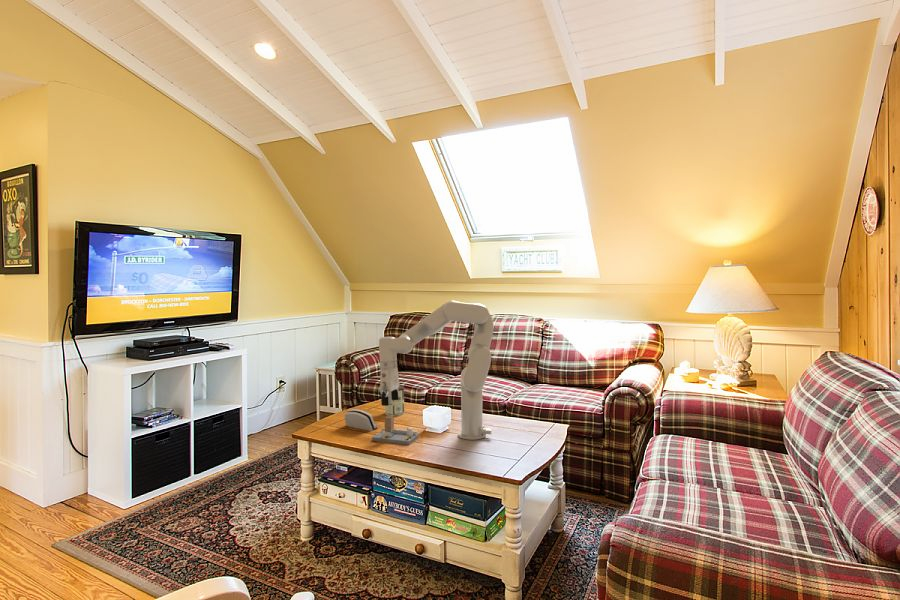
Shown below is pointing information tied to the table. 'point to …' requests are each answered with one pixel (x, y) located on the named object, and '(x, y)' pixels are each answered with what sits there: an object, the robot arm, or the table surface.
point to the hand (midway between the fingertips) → (390, 402)
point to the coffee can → (395, 403)
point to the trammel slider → (389, 427)
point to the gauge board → (398, 437)
